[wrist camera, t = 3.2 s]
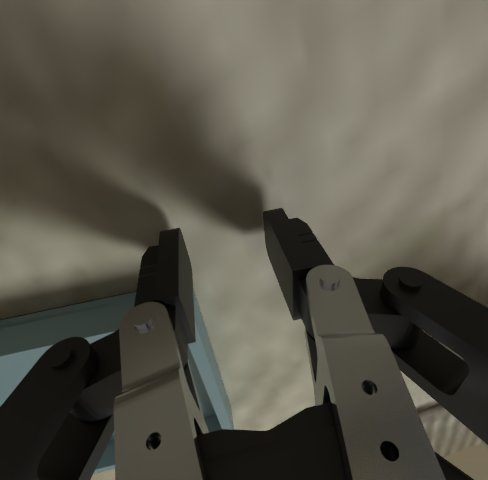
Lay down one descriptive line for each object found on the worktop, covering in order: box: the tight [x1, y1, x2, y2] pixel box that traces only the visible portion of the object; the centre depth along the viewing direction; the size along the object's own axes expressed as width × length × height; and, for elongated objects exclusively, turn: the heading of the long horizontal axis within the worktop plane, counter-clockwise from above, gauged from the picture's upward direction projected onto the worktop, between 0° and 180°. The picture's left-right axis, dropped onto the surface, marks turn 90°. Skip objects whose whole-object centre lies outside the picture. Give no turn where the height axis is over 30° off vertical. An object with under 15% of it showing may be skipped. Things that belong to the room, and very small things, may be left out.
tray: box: [0, 290, 234, 474], centre depth 16 cm, size 13×13×2 cm
